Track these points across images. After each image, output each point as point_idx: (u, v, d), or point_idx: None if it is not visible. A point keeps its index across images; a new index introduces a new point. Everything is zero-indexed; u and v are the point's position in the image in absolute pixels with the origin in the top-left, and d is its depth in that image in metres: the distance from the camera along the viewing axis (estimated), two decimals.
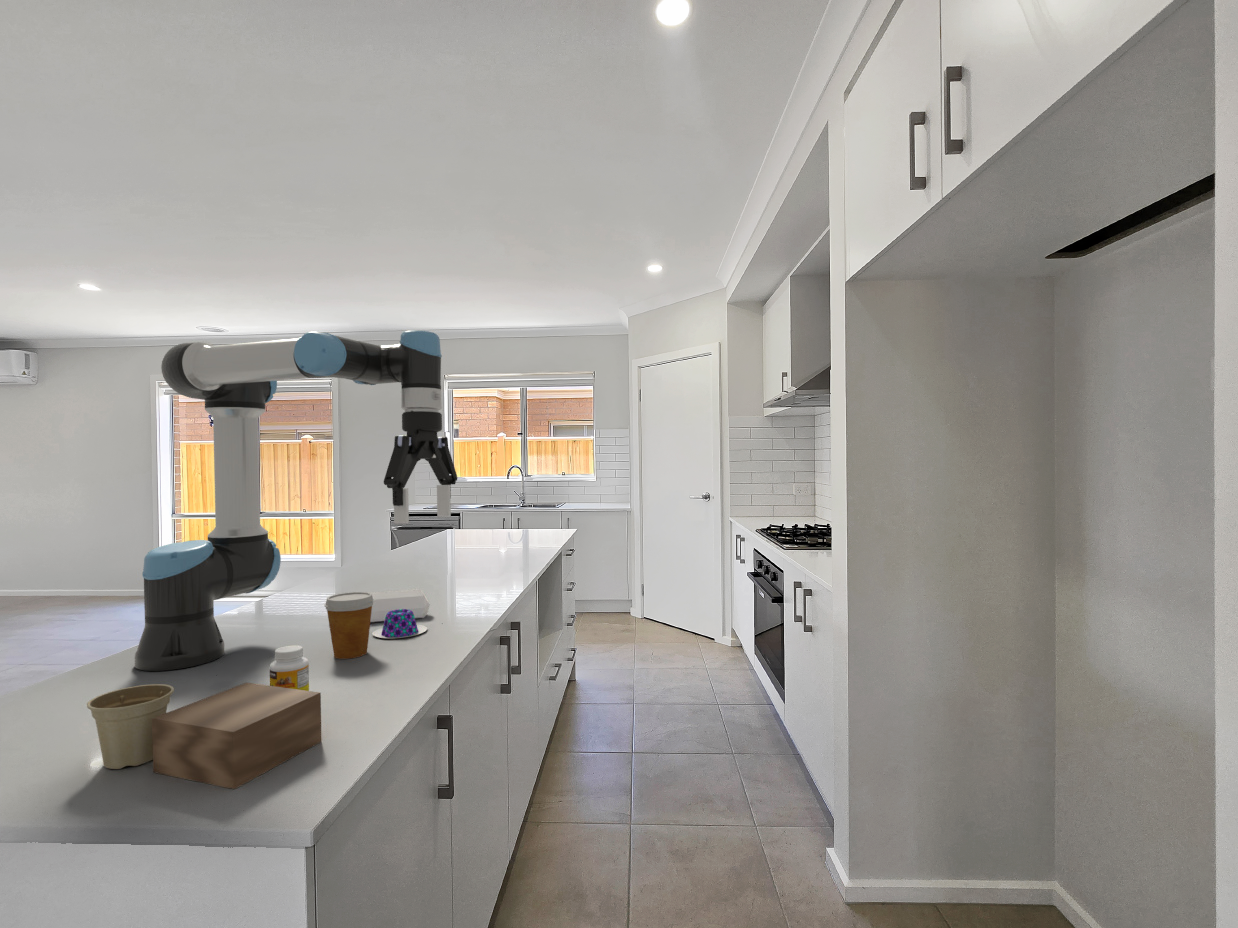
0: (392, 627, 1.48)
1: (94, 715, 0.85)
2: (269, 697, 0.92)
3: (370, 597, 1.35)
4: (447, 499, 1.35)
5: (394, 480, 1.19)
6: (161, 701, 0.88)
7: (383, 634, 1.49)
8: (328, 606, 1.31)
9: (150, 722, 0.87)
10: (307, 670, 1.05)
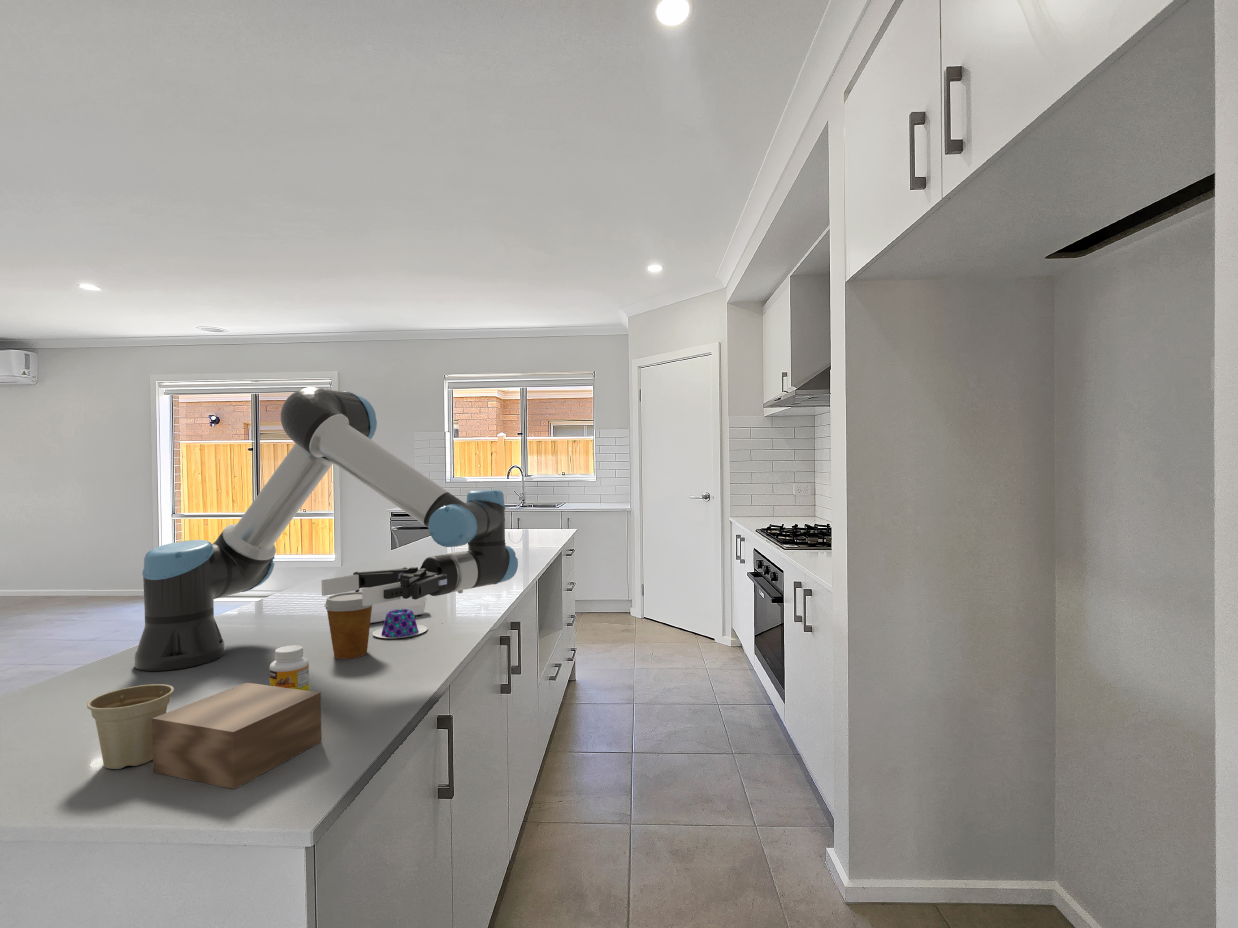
0: (392, 627, 1.48)
1: (94, 715, 0.85)
2: (269, 697, 0.92)
3: None
4: (343, 591, 1.17)
5: (418, 597, 1.11)
6: (161, 701, 0.88)
7: (383, 634, 1.49)
8: (328, 606, 1.31)
9: (150, 722, 0.87)
10: (307, 670, 1.05)
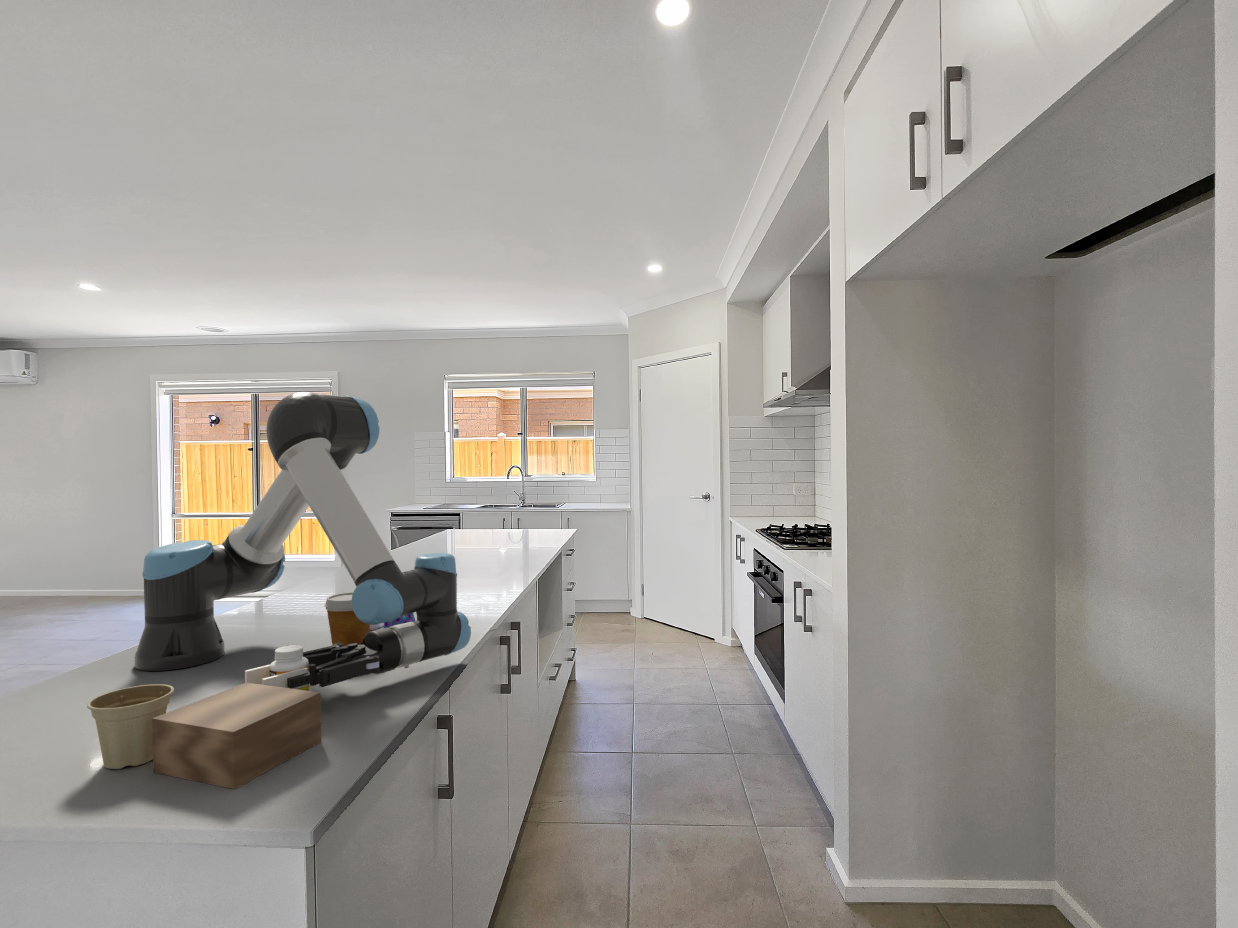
0: None
1: (94, 715, 0.85)
2: (269, 697, 0.92)
3: None
4: None
5: (325, 685, 1.02)
6: (161, 701, 0.88)
7: None
8: (328, 606, 1.31)
9: (150, 722, 0.87)
10: None
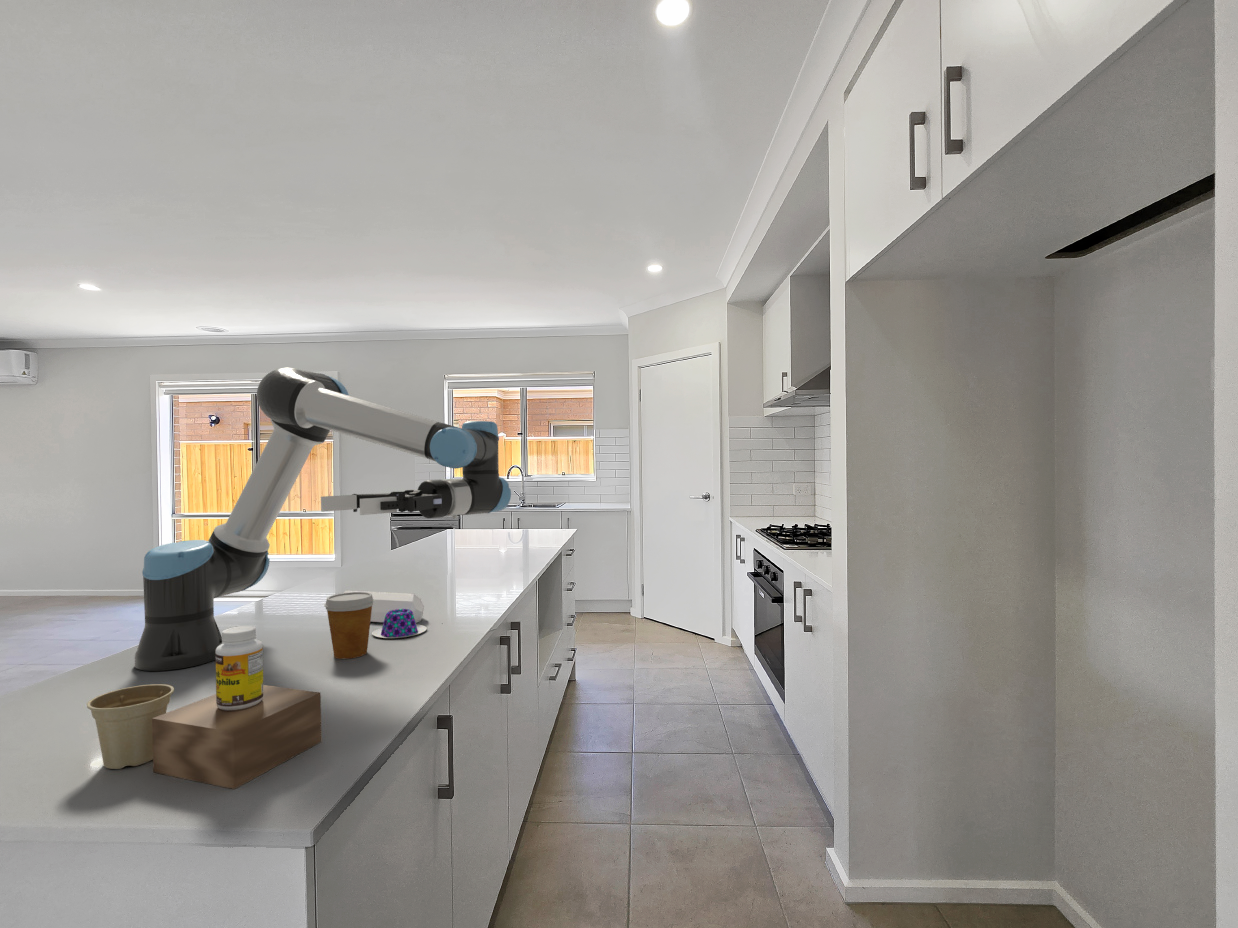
0: (391, 627, 1.48)
1: (94, 715, 0.85)
2: (269, 697, 0.92)
3: (370, 597, 1.35)
4: (341, 508, 1.22)
5: (413, 510, 1.15)
6: (161, 701, 0.88)
7: (382, 634, 1.49)
8: (328, 606, 1.31)
9: (150, 722, 0.87)
10: (260, 655, 0.89)
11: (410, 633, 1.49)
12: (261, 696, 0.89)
